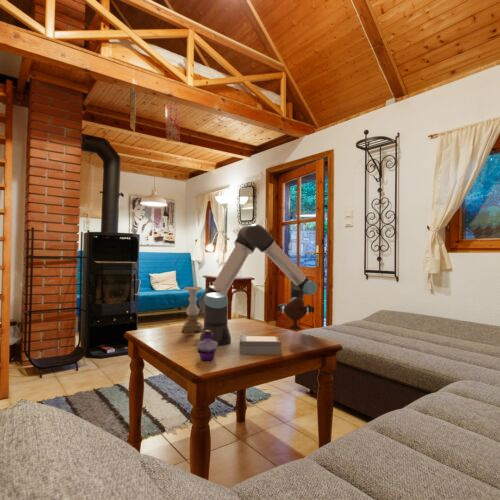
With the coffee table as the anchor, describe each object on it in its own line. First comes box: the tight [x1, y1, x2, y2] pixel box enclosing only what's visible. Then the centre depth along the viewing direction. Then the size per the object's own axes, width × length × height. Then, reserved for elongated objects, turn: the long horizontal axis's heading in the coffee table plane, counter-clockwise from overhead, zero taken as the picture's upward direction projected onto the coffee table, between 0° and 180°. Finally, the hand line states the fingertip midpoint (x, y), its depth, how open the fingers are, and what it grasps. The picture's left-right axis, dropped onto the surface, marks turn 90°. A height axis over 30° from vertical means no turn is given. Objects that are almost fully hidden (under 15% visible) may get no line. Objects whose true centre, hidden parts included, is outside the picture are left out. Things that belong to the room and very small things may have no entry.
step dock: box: [238, 331, 282, 356], centre depth 159 cm, size 18×18×6 cm
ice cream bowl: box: [284, 298, 307, 331], centre depth 171 cm, size 11×11×15 cm
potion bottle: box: [196, 330, 218, 362], centre depth 142 cm, size 9×9×12 cm
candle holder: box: [181, 286, 203, 333], centre depth 195 cm, size 11×11×24 cm
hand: (295, 311), depth 167 cm, fingers closed on ice cream bowl, 11 cm apart
